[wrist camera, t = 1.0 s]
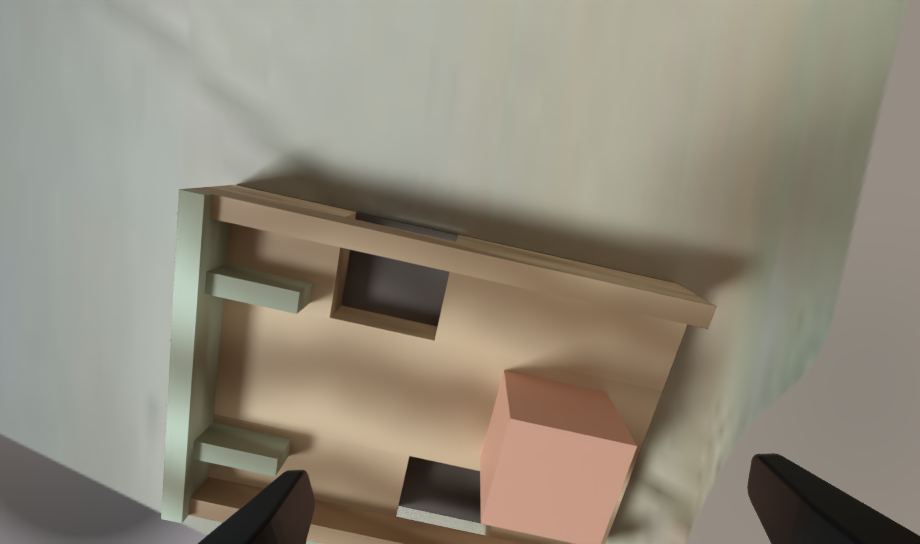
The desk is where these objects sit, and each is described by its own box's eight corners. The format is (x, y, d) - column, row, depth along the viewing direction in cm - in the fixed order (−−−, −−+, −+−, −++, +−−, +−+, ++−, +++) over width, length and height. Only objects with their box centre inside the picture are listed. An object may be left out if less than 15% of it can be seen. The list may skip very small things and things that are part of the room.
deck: (584, 542, 25) (604, 612, 21) (211, 463, 25) (161, 518, 21) (677, 283, 21) (723, 310, 17) (235, 184, 21) (179, 189, 17)
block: (577, 479, 22) (599, 548, 18) (480, 458, 21) (480, 523, 18) (606, 392, 20) (637, 446, 16) (503, 369, 20) (510, 418, 16)
